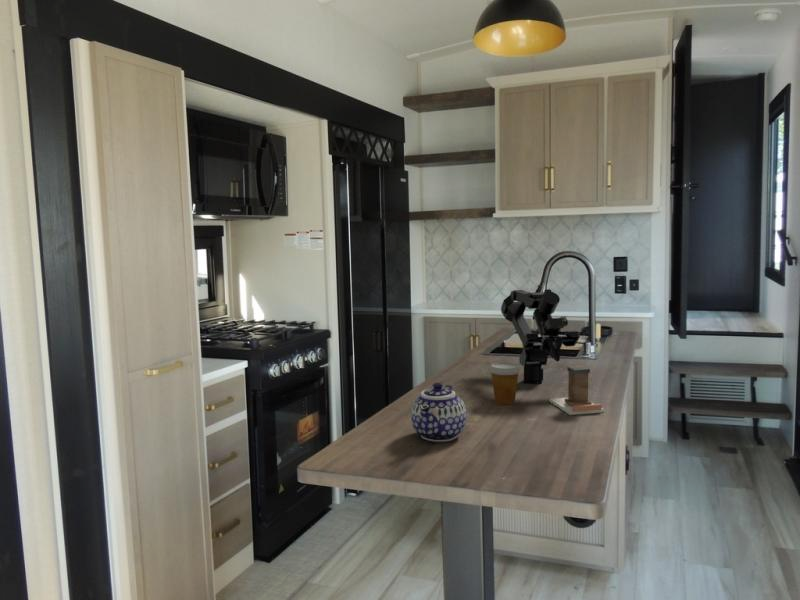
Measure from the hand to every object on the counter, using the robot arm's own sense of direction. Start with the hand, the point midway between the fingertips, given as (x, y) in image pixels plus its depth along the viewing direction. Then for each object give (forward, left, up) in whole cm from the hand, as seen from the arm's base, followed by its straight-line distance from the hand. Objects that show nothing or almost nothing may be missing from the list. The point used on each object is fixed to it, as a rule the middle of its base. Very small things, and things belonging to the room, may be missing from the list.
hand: (558, 360), depth 220 cm
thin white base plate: (+6, -12, -12) cm, 18 cm away
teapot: (-30, -49, -12) cm, 59 cm away
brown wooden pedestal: (+6, -13, -11) cm, 18 cm away
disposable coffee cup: (-16, -11, -12) cm, 23 cm away
